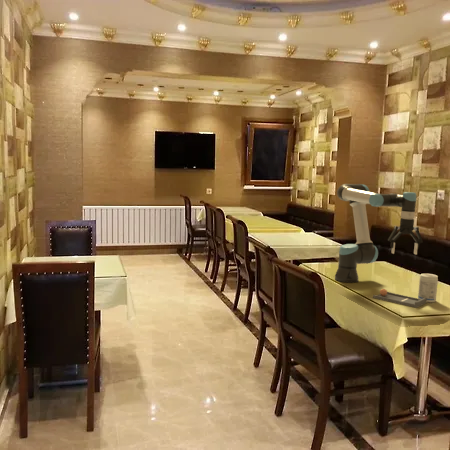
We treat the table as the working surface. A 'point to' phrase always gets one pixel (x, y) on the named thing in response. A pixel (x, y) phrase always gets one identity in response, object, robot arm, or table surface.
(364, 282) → the table surface
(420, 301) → the grey tray
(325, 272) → the table surface
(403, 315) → the table surface
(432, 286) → the supplement tub
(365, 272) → the table surface
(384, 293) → the ball
